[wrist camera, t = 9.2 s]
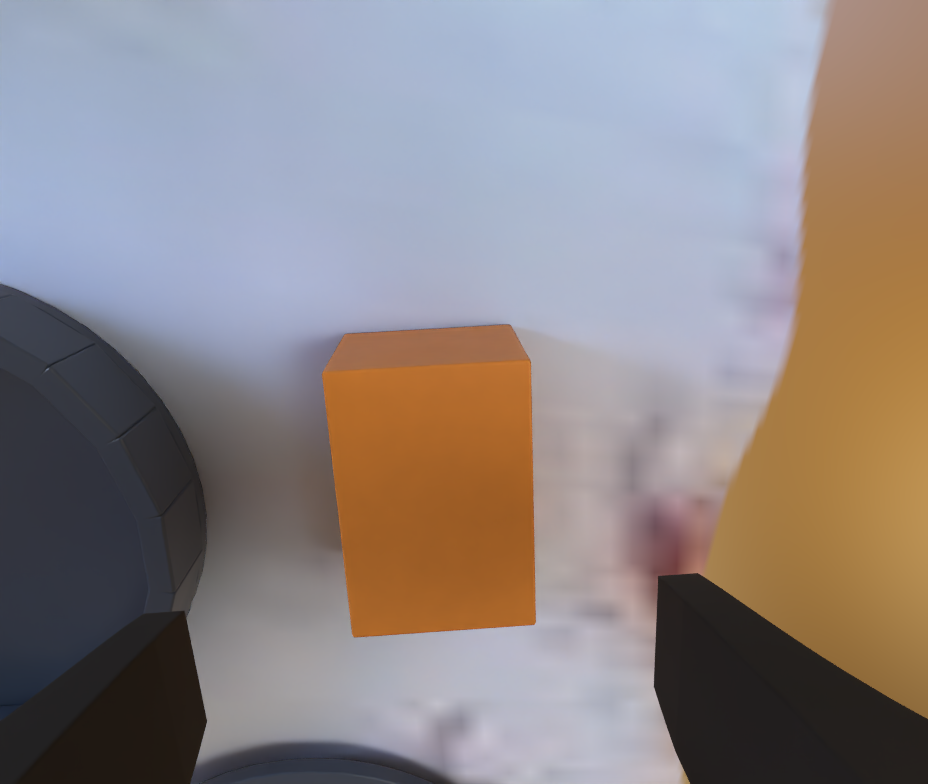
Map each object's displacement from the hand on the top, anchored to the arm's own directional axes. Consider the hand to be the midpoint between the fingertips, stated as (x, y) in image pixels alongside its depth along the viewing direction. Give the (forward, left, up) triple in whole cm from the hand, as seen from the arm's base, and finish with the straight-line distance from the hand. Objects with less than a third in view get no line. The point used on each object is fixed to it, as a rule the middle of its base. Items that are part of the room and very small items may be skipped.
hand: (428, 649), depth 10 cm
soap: (+1, 0, -7) cm, 7 cm away
